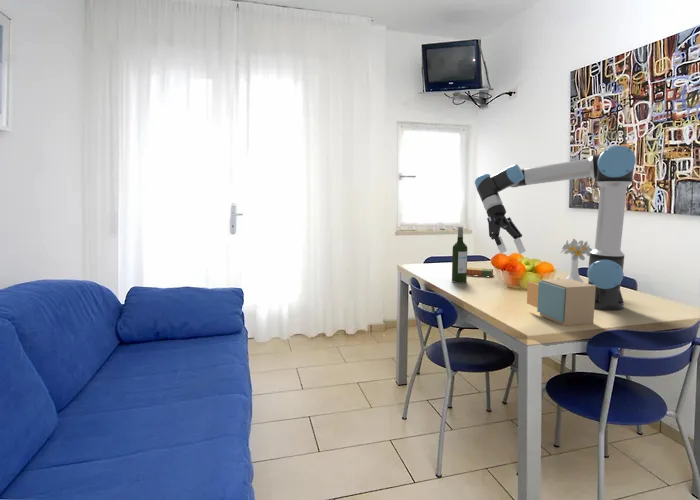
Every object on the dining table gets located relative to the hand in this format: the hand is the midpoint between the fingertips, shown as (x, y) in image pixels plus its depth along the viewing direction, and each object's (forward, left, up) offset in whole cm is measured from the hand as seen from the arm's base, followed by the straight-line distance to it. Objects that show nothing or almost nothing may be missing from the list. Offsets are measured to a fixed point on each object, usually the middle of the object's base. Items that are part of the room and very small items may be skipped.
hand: (513, 252), depth 175 cm
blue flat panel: (-9, +14, -22) cm, 27 cm away
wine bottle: (+16, -53, -23) cm, 60 cm away
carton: (+3, -74, -24) cm, 78 cm away
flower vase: (-38, -38, -23) cm, 58 cm away
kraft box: (-17, +15, -23) cm, 32 cm away
